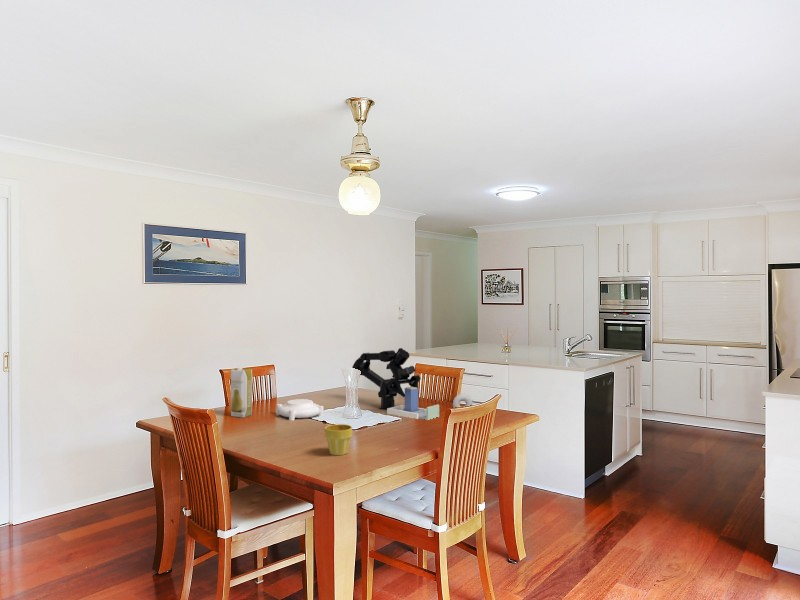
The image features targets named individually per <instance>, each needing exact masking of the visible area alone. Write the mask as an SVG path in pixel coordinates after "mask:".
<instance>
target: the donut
mask: <svg viewBox="0 0 800 600" xmlns="http://www.w3.org/2000/svg"><path fill="white" fill-rule="evenodd" d="M462 401H463V402H465V405H464V406H463V407H465V406H470V405H472V406H473V400H472V398H471V397H470V395H468V394H465V393H461V394H460V393H459V394H457V395H456V396H455V397H454V399H453V401H452V407H453V409H454V408H455V407H462V406H461V405H460V403H461V402H462Z"/></svg>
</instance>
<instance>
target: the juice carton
mask: <svg viewBox="0 0 800 600" xmlns="http://www.w3.org/2000/svg"><path fill="white" fill-rule="evenodd" d="M252 414H253V369H252V368H243V366H237V367H236V368H232V369H231V370H230V416H231V417H234V418H235V417H237V418H247V417H250V416H252Z"/></svg>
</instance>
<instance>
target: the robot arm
mask: <svg viewBox="0 0 800 600" xmlns="http://www.w3.org/2000/svg"><path fill="white" fill-rule="evenodd" d="M409 358H410V352H408V350H405V349H403V348H402V347H399V348H398V349H397V351H395V350H393V349H392V350H391V349H390V350H383V351H379V352H362V354H360V356H359V357H358V358H357V359H356V360H355V361H354V363H353V365H352V368H355V369H358V370H360V371H361V374H360V375H359V376H364V377H365V378H366V379H368V380H369V381H370V382H371V383H374V384H375V385H376V386H377V387H379V391H378V393H377V395H378V398H380V406H379V408H378V409H381V410H386V411H387V408H391V407H395V397H397V395H399V396H401V397H403V398H405V391H404V390H403V388H402V387H401V385H404V384H408V385H409V387H416V388H418V396H419V395H420V390H419V384H418V383H419V382H420V381H421V379H422V378H421V376H420V375H418V374H416V375H412V374H414V373H415V372H416V368H415V366H414V365H410V366H408V367H404V368H403V365H404V364H405V363H406V362H407V360H409ZM371 361H380V362H383V363H387V364H386V370H390V372H391V373H392V375H391V378H387V379H385V378H383V377H382V376H380V375H379V374H377V373H376V372H374V371H373V370H372V369H371V368H370V367H371ZM411 375H412V376H411ZM410 376H411V377H410Z"/></svg>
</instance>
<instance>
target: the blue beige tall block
mask: <svg viewBox="0 0 800 600" xmlns="http://www.w3.org/2000/svg"><path fill="white" fill-rule="evenodd" d="M418 390H419V387H418V388H416V387H410V386H406V387H404V394H405V397H404V405H405V411H408V412H415V411H418V408H419V395H418Z"/></svg>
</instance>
